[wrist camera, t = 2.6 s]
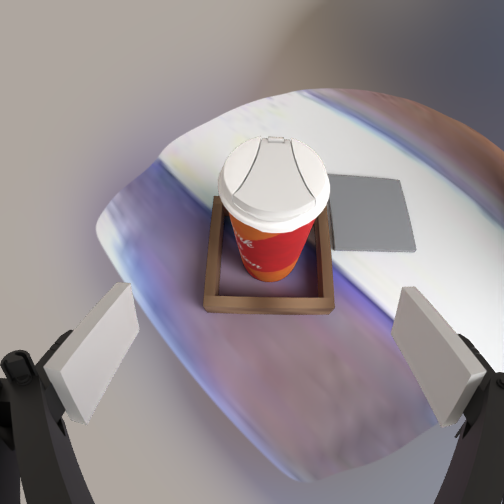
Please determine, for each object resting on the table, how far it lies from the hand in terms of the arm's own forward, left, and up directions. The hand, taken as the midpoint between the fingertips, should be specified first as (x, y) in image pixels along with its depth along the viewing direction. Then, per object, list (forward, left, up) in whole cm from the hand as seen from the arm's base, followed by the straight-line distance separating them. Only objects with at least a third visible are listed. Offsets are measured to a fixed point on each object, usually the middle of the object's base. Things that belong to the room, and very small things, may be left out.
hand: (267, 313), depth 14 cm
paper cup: (0, -10, -16) cm, 18 cm away
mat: (-12, -16, -15) cm, 25 cm away
